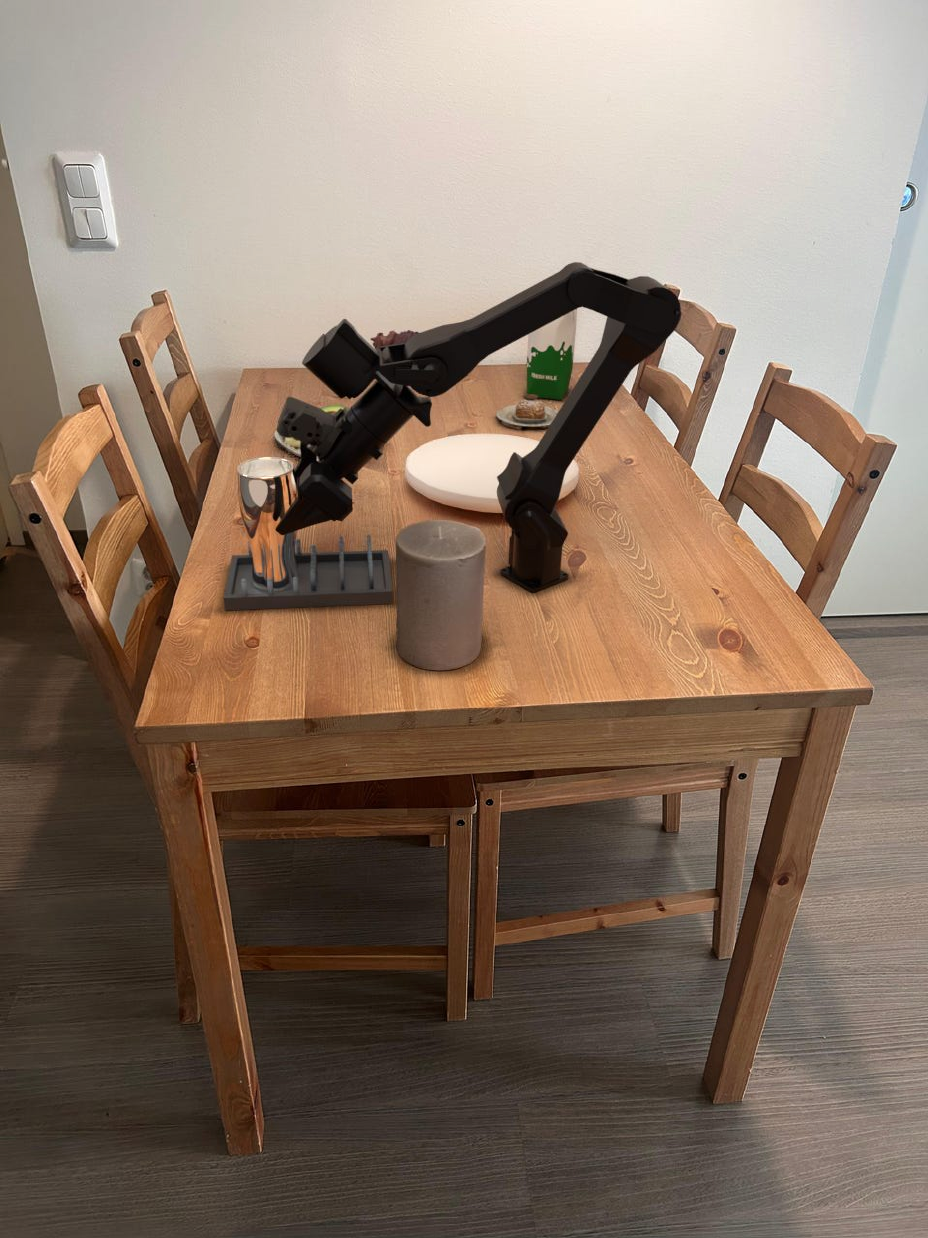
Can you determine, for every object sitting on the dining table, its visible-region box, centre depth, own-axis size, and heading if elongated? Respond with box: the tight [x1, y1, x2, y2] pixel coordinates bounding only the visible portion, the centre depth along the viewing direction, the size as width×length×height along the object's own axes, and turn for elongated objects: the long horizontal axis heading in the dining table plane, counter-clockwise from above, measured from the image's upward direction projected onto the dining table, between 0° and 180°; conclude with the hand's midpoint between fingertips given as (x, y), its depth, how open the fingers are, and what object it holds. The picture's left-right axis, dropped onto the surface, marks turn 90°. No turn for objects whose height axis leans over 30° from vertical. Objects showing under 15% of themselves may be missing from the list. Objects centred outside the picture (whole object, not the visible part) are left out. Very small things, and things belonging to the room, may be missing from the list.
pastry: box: [496, 394, 559, 431], centre depth 170 cm, size 12×12×5 cm
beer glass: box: [236, 456, 301, 591], centre depth 112 cm, size 7×7×15 cm
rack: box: [223, 534, 394, 612], centre depth 115 cm, size 20×11×5 cm, turn 97°
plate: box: [404, 433, 580, 514], centre depth 142 cm, size 28×6×27 cm
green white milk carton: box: [526, 308, 578, 401], centre depth 180 cm, size 9×9×20 cm
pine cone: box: [370, 329, 420, 349], centre depth 192 cm, size 18×10×10 cm
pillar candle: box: [395, 519, 487, 671], centre depth 101 cm, size 10×10×15 cm
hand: (280, 515), depth 111 cm, fingers open, 9 cm apart
